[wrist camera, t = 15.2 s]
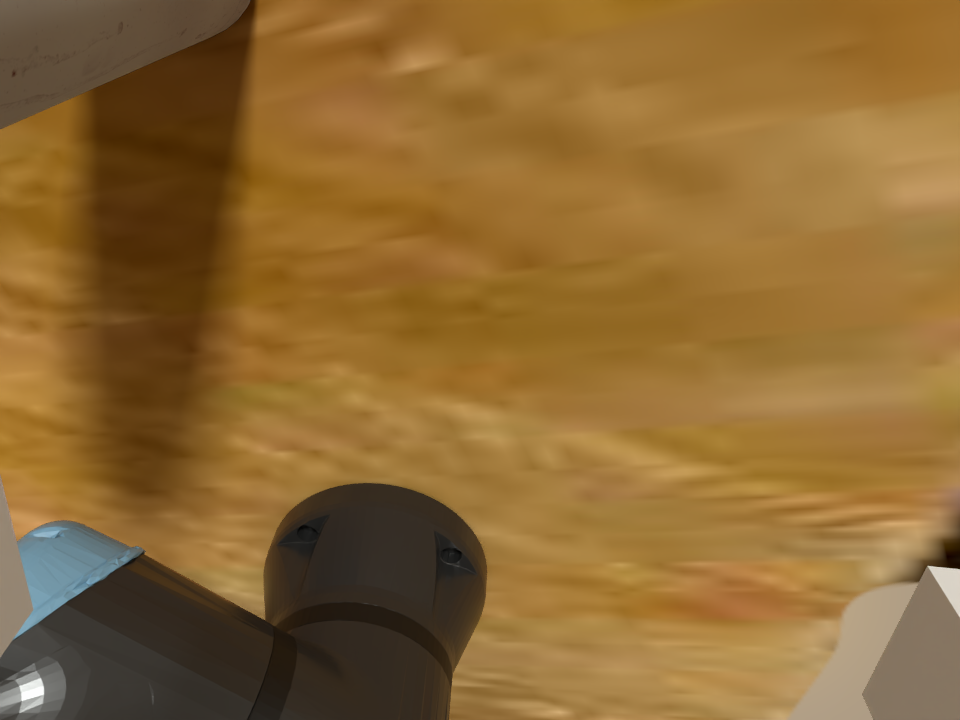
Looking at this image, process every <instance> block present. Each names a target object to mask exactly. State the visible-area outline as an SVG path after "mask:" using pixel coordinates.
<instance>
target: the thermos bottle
mask: <svg viewBox="0 0 960 720" xmlns="http://www.w3.org/2000/svg"><path fill="white" fill-rule="evenodd" d="M249 2H250V0H0V129H2V128H4V127H7V126H9V125H11V124H14V123H16V122H18V121H20V120H23V119H25V118H27V117H30V116H32V115H34V114H36V113H39V112H41V111H43V110H46V109H48V108H50V107H52V106H55V105H57V104H59V103H61V102H64V101H66V100H68V99H71V98H73V97H75V96H77V95H80V94H82V93H84V92H87V91H89V90H91V89H93V88H96V87H98V86H100V85H103V84H105V83H107V82H109V81H112V80H114V79H116V78H119V77H121V76H123V75H125V74H128V73H130V72H132V71H135V70H137V69H139V68H141V67H144V66H146V65H148V64H151V63H153V62H155V61H157V60H160V59H162V58H164V57H167V56H169V55H171V54H173V53H176V52H178V51H180V50H182V49H185V48H187V47H189V46H192V45H194V44H196V43H199V42H201V41H203V40H205V39H208V38H210V37H212V36H214V35H216V34H218V33H220V32H222V31H224V30H226V29H227V28H229V27H230V26H231V25H232V24H233V23H234V22H236V21H237V20H238V19H239V18H240V16H241V15H242V13H243V12H244V11H245V9H246V8H247V7H248V5H249Z"/></svg>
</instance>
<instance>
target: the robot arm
mask: <svg viewBox="0 0 960 720" xmlns="http://www.w3.org/2000/svg"><path fill="white" fill-rule="evenodd" d="M145 552H146V551H145V550H143V549H142V548H141V547H138V546H135V547H129V546H127V545H125V544H123V543H121V542H119V541H117V540H115V539H112V538H110V537H108V536H106V535H104V534H102V533H100V532H98V531H96V530H94V529H92V528H90V527H87V526H85V525H83V524H81V523H77V522H73V521H66V520H61V521H54V522H50V523H46V524H44V525H41V526H39V527H37V528H35V529H34V530H32V531H30V532H29V533H27V534H26V535H25V536H24V537H22V538H21V539H20V540H19V541H16V537H15V533H14V529H13V525H12V521H11V517H10V513H9V509H8V505H7V501H6V497H5V493H4V488H3V484H2V480H1V476H0V720H449V711H450V699H451V685H452V676H453V672H454V670H455V668H456V666H457V664H458V662H459V660H460V658H461V656H462V654H463V652H464V650H465V648H466V646H467V644H468V642H469V640H470V638H471V636H472V634H473V632H474V630H475V628H476V626H477V624H478V622H479V620H480V617H481V614H482V611H483V607H484V603H485V597H486V581H487V565H486V559H485V555H484V552H483V549H482V547H481V544H480V542H479V541H478V539H477V537H476V535H475V534H474V533H473V531H472V530H471V529H470V527H469V526H468V525H467V524H466V523H465V522H464V521H463V520H462V519H461V518H460V517H459V516H458V515H457V514H456V513H454V512H453V511H452V510H451V509H449V508H448V507H446V506H445V505H443V504H441V503H440V502H438V501H436V500H434V499H432V498H430V497H428V496H426V495H424V494H421V493H418V492H416V491H413V490H410V489H406V488H402V487H398V486H392V485H386V484H374V483H361V484H350V485H343V486H338V487H334V488H330V489H327V490H324V491H322V492H319V493H317V494H315V495H312V496H310V497H309V498H307V499H305V500H304V501H302V502H301V503H299V504H298V505H297V506H295V507H294V508H293V509H292V510H291V511H290V512H289V513H288V514H287V515H286V516H285V518H284V519H283V520H282V522H281V523H280V525H279V527H278V529H277V531H276V533H275V536H274V538H273V541H272V544H271V546H270V549H269V551H268V554H267V557H266V561H265V567H264V601H265V620H263V619H261V618H259V617H257V616H256V615H254V614H252V613H250V612H248V611H246V610H245V609H243V608H241V607H239V606H237V605H236V604H234V603H232V602H230V601H228V600H226V599H225V598H223V597H221V596H219V595H217V594H215V593H214V592H212V591H210V590H208V589H206V588H204V587H203V586H201V585H199V584H197V583H195V582H194V581H192V580H190V579H188V578H186V577H184V576H183V575H181V574H179V573H177V572H175V571H173V570H172V569H170V568H168V567H166V566H164V565H162V564H161V563H159V562H157V561H155V560H153V559H152V558H150V557H148V556H146V555H144V553H145ZM862 695H863V697H864V699H865V702H866V704H867V706H868V708H869V711H870V713H871V715H872V717H873V720H960V569H951V568H941V567H932V566H927V568H926V570H925V572H924V574H923V576H922V578H921V580H920V582H919V584H918V586H917V588H916V590H915V592H914V594H913V595H912V597H911V599H910V601H909V604H908V605H907V607H906V609H905V611H904V613H903V615H902V617H901V619H900V621H899V623H898V625H897V627H896V629H895V631H894V633H893V635H892V637H891V639H890V641H889V642H888V645H887V647H886V648H885V650H884V652H883V654H882V656H881V658H880V660H879V662H878V664H877V666H876V668H875V670H874V672H873V674H872V676H871V678H870V680H869V682H868V684H867V686H866V688H865V689H864V691H863V694H862Z"/></svg>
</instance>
